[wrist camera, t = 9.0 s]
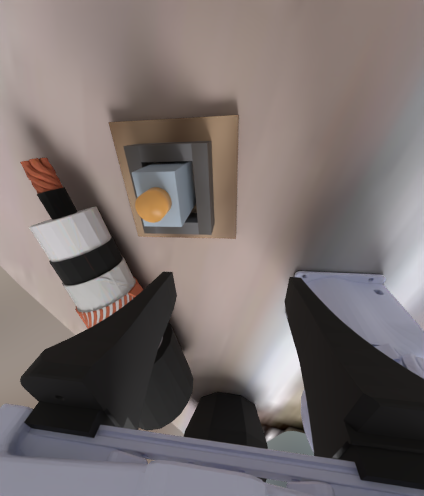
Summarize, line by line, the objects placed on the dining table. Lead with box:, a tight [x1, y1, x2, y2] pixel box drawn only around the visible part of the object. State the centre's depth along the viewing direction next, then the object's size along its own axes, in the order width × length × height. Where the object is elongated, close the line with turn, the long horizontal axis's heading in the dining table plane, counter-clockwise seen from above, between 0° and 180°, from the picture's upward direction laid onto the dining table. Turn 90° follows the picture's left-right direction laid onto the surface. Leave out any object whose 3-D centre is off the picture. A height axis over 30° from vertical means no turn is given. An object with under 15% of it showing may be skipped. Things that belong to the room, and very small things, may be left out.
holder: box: [109, 115, 239, 239], centre depth 19 cm, size 11×11×4 cm
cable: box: [20, 158, 193, 430], centre depth 25 cm, size 10×34×10 cm, turn 16°
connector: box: [132, 161, 196, 227], centre depth 16 cm, size 3×4×7 cm
